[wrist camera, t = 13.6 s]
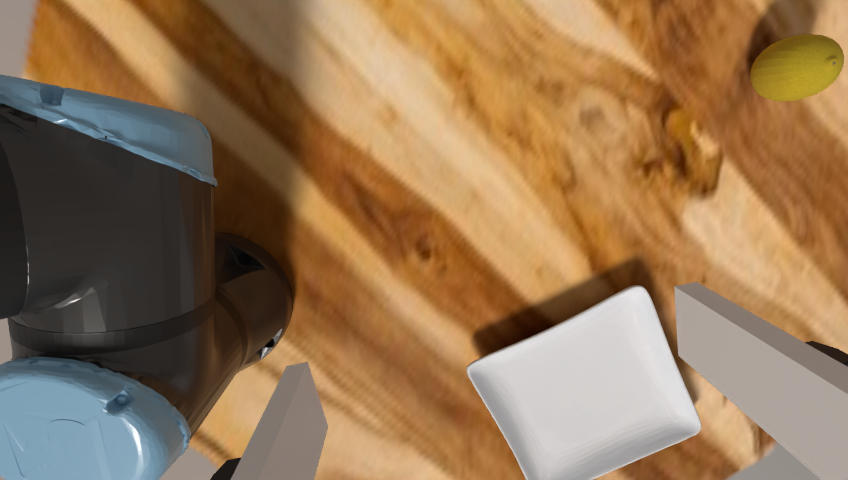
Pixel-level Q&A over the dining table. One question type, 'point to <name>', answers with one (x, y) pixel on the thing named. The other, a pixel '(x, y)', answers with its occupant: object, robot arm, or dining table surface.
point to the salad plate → (588, 391)
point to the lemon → (796, 67)
